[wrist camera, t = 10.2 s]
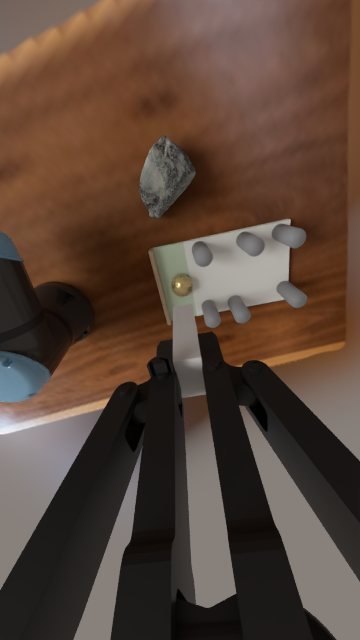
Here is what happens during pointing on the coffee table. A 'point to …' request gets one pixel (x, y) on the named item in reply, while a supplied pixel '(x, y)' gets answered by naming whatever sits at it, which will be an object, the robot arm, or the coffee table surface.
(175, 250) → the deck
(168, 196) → the stone
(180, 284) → the brass dome
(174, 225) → the coffee table surface
